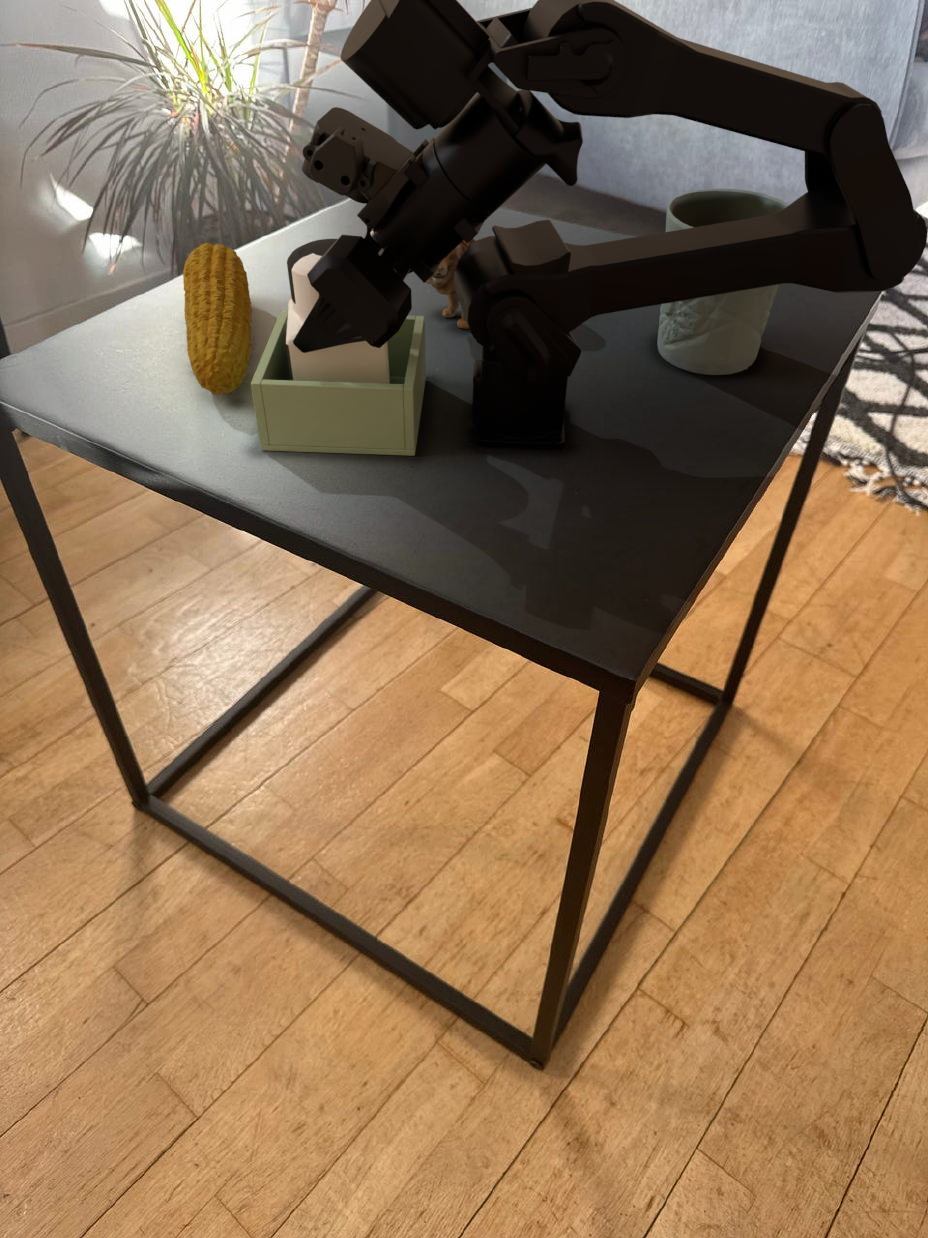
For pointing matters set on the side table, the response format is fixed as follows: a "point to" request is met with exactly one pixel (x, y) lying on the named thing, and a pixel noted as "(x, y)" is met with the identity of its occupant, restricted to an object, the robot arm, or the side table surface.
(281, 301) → the side table surface
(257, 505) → the side table surface
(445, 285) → the lion figurine
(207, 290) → the food
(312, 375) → the medicine bottle
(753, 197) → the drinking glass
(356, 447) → the bin
